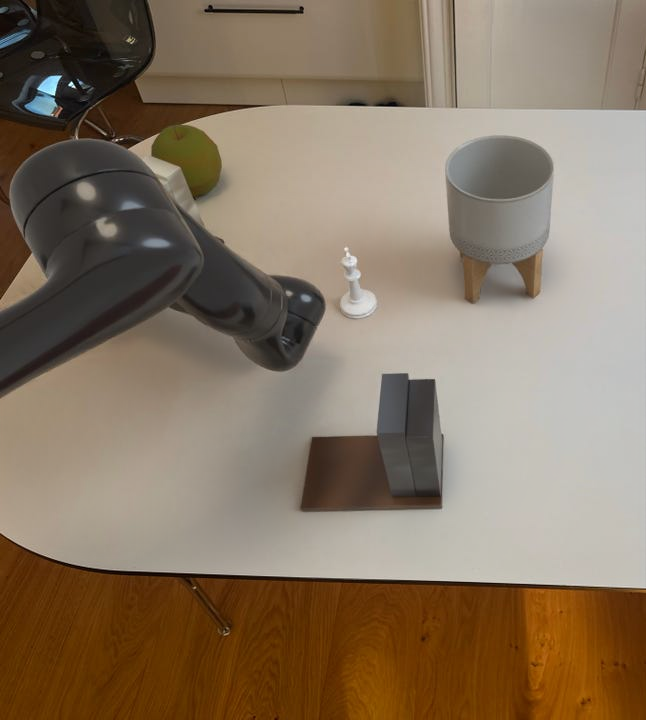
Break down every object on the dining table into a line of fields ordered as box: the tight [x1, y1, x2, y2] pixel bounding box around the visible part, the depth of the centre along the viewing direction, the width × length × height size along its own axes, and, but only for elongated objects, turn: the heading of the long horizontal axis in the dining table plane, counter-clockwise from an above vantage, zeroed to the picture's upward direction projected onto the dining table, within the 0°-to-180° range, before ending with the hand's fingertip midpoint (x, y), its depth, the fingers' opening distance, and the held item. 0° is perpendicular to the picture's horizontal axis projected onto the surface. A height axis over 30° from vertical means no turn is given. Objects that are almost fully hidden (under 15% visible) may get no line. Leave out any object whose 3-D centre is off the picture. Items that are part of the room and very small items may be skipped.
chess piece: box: [339, 247, 378, 319], centre depth 90 cm, size 5×5×10 cm
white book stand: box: [140, 154, 226, 245], centre depth 94 cm, size 17×9×13 cm, turn 151°
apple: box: [150, 124, 223, 198], centre depth 107 cm, size 10×10×11 cm
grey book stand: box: [299, 372, 445, 513], centre depth 73 cm, size 15×9×13 cm, turn 91°
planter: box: [444, 134, 555, 304], centre depth 91 cm, size 13×13×18 cm
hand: (74, 230), depth 89 cm, fingers open, 3 cm apart
